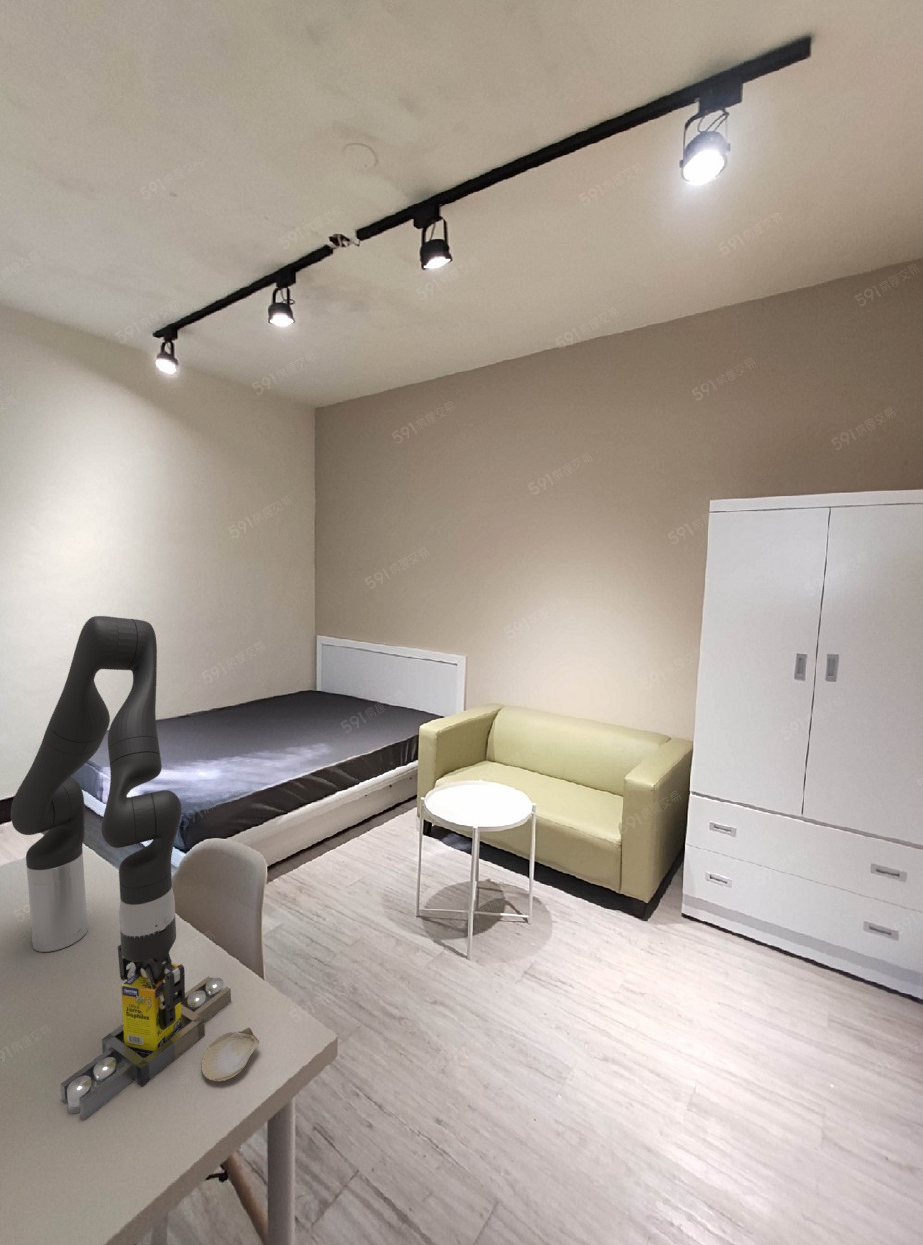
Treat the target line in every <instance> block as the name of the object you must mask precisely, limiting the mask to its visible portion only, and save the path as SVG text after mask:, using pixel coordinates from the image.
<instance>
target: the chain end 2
mask: <svg viewBox="0 0 923 1245" xmlns="http://www.w3.org/2000/svg"><path fill="white" fill-rule="evenodd" d="M231 990H232V989H231V988H230V987H229V986H226V987H224V979H223V978H222V977H214V978H212V977H211V976H207V977H206V978H204V979H203V980H202V981H200V982H198V983H197V984H196V985H194V986H193V987H192V988H191V989H189V990H188V991H185V999H184V1000H183V1001H182V1002H181V1020H182V1026H181V1027H180V1028H179V1030H178V1031H177V1032H176V1033H175V1034H174V1035H173V1036H172V1037H171V1038H170V1040H172V1041H173V1042H174V1047H175V1061H176V1060H177V1059H178V1058H179V1057H181V1056H182V1055H183V1054H185V1053H186V1051H188V1050H190V1048H191V1047H193V1046H194V1045H195V1044H197V1043H198V1042H199V1041H200V1040H201V1039H203V1038H204V1037H205V1036H206V1029H205V1024H206V1023H207V1022H208V1021H209V1020H211V1019H212V1018H213V1017H215V1015H217V1014H218V1013H220V1011H222V1010H223V1009H224V1008H225V1007H226V1006H228V1005H229V1004H230V1003H232V992H231Z"/></svg>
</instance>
